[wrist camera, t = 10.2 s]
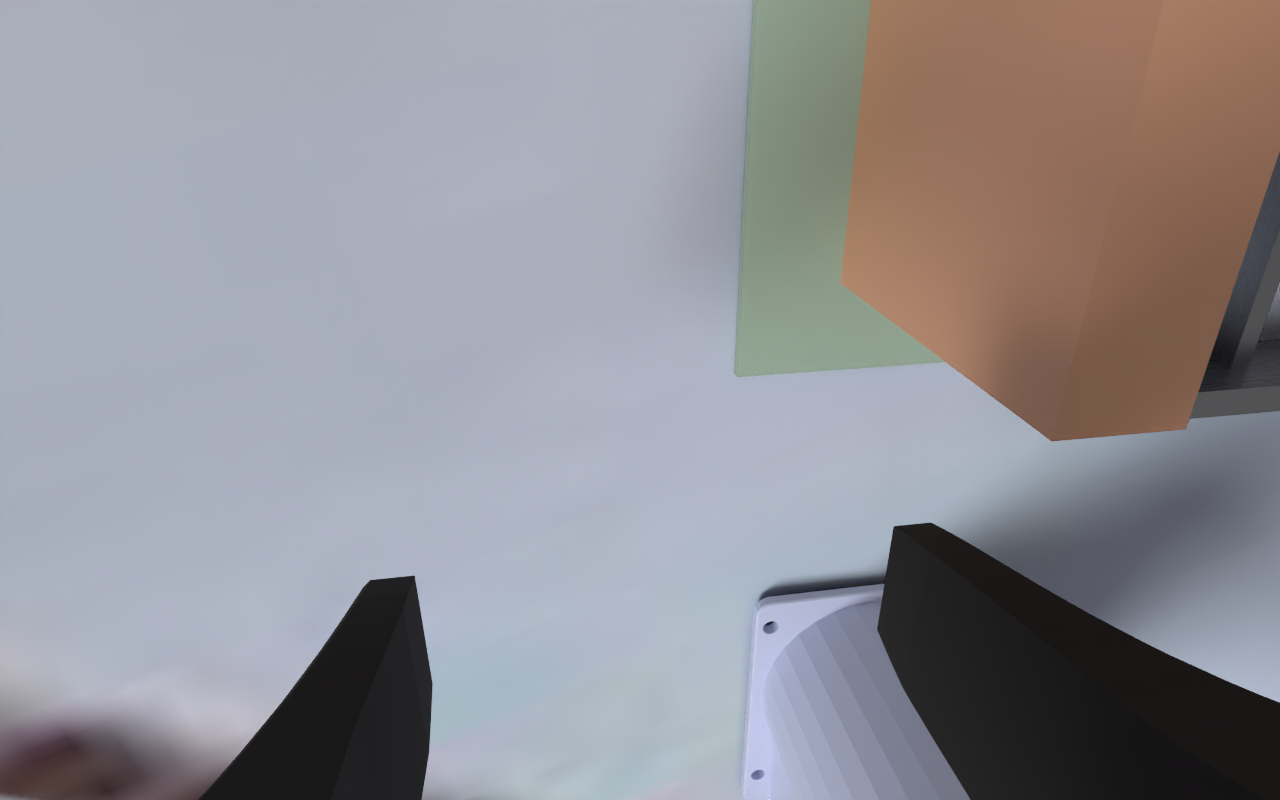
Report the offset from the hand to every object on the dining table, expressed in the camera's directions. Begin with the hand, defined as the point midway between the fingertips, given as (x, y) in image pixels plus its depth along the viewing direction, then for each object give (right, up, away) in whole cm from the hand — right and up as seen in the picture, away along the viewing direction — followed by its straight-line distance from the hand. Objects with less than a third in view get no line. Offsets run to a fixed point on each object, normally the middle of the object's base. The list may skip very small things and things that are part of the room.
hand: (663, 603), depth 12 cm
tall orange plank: (+6, +9, +8) cm, 14 cm away
